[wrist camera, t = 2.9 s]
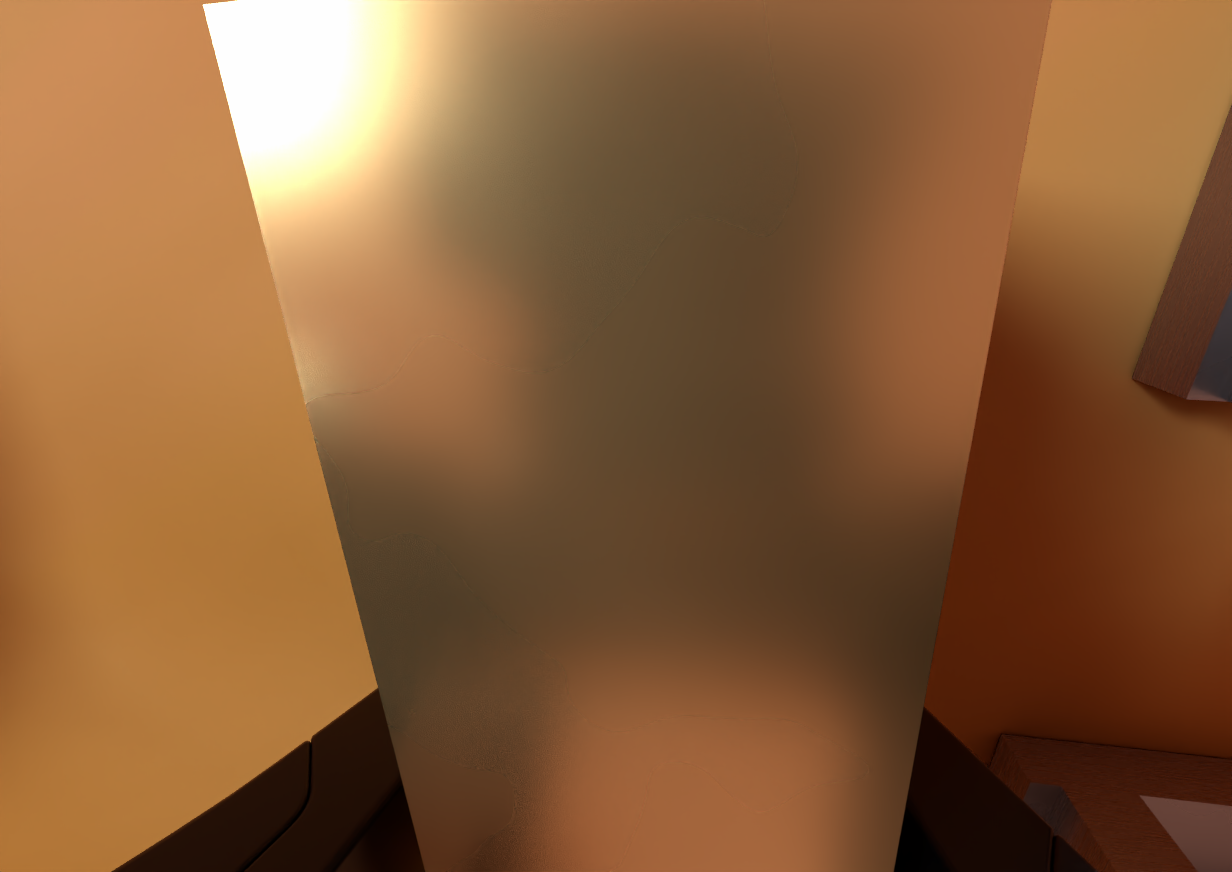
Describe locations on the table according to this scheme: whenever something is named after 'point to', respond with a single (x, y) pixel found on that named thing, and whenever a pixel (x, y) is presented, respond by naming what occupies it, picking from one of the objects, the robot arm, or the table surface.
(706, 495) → the brown rectangular block
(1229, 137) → the grey frame
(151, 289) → the table surface
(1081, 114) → the table surface
